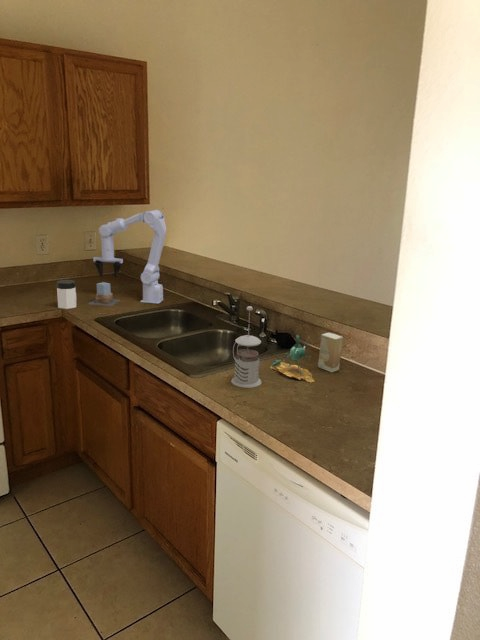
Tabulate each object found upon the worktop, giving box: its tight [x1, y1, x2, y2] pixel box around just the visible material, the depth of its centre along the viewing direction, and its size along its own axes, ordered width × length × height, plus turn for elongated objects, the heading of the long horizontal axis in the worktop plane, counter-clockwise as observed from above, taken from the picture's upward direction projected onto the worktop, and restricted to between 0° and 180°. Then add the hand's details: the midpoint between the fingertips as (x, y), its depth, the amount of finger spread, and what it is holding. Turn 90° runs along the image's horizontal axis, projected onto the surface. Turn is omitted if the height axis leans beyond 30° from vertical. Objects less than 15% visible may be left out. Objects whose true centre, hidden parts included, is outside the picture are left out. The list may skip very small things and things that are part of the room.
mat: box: [87, 298, 121, 307], centre depth 252 cm, size 12×12×1 cm
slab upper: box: [95, 292, 114, 300], centre depth 251 cm, size 6×6×2 cm
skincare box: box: [317, 332, 344, 373], centre depth 180 cm, size 6×4×12 cm
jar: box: [56, 279, 77, 310], centre depth 241 cm, size 9×8×12 cm
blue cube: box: [96, 281, 112, 295], centre depth 250 cm, size 4×4×5 cm
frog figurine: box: [269, 334, 315, 383], centre depth 174 cm, size 10×18×15 cm, turn 41°
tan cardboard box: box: [95, 296, 114, 304], centre depth 252 cm, size 6×6×2 cm
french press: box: [230, 305, 262, 389], centre depth 165 cm, size 10×12×25 cm
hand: (108, 276), depth 260 cm, fingers open, 7 cm apart
